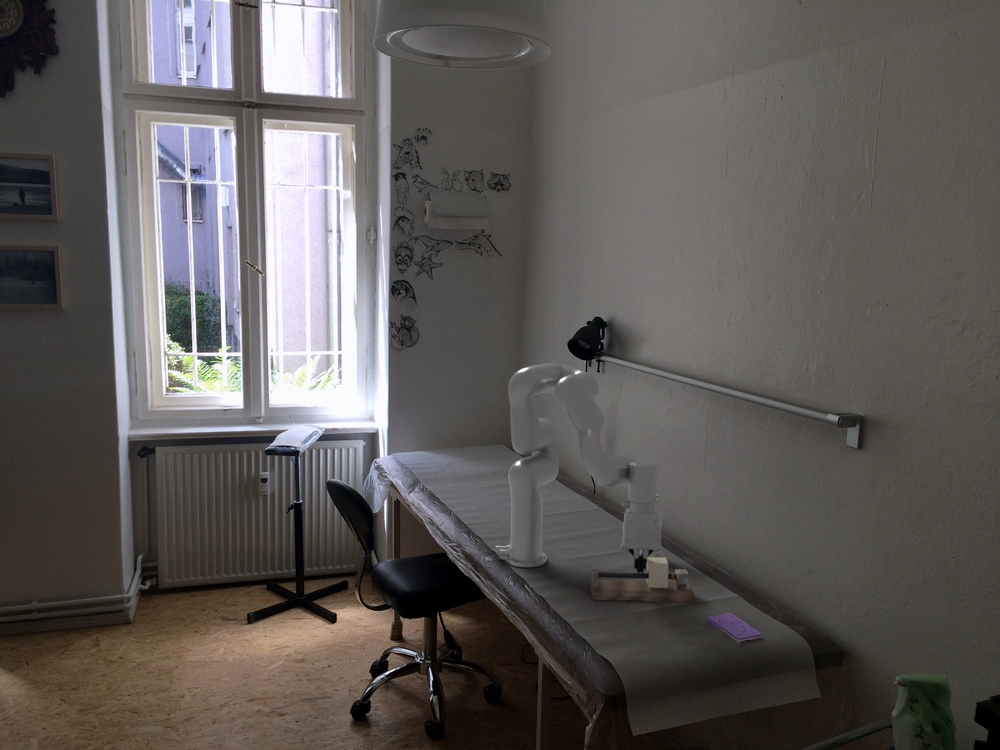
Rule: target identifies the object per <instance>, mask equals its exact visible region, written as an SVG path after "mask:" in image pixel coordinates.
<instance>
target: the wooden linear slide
mask: <svg viewBox="0 0 1000 750" xmlns="http://www.w3.org/2000/svg"><path fill="white" fill-rule="evenodd" d="M598 570H599V569H595V568H594V569H593V568H591V579H589V588H590V589H589V590H590V594H591V599H592V600H595V601H626V600H644V601H643V602H665V601H680V602H679V603H694V602H695V601H694V600H695V597H694V594H693V592H692V590H691V588H690V586H689V572H688V570H687V569H684V568H683V569H680V568H678V569H677V568H676V569H674V571H675V572H670V573H668V587H667V588H653V587H649V586H648V584H647V581H646V579H649V573H647V572H644V573H641V572H640V573H637V572H614V571H613V572H610V571H609V572H608V571H607V572H606V571H598ZM599 578H608V579H599ZM621 579H622V580H621ZM626 579H630V580H626ZM631 579H632V580H631ZM633 579H643V580H633ZM644 579H645V580H644ZM669 580H671V581H669ZM674 580H675V581H674Z"/></svg>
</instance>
